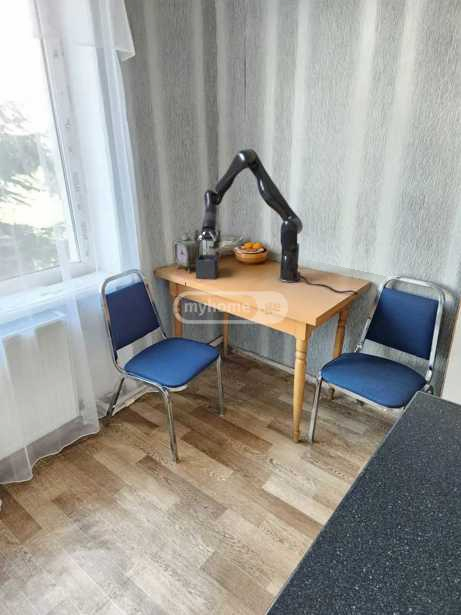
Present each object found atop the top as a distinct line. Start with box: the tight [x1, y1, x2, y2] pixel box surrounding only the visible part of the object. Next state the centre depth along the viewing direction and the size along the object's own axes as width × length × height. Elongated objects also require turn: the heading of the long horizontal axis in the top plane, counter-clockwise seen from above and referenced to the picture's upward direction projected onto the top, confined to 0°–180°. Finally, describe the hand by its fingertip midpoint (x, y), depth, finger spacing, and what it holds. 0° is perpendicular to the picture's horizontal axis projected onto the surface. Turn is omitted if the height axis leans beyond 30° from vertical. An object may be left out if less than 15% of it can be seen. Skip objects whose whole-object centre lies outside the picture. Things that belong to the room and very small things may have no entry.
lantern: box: [202, 234, 220, 261], centre depth 246 cm, size 10×10×14 cm
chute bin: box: [195, 254, 219, 280], centre depth 218 cm, size 10×10×11 cm
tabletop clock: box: [172, 226, 200, 274], centre depth 225 cm, size 14×9×25 cm, turn 43°
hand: (206, 248), depth 212 cm, fingers open, 8 cm apart
